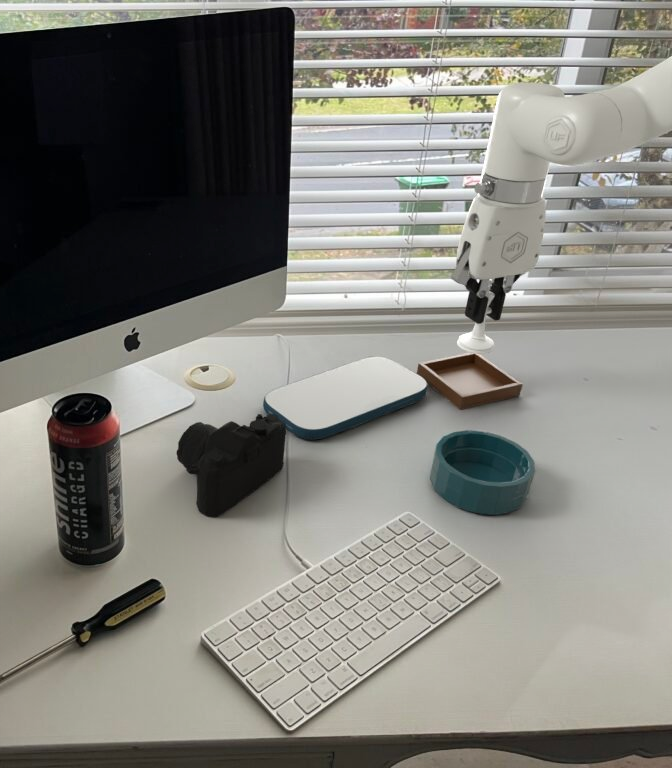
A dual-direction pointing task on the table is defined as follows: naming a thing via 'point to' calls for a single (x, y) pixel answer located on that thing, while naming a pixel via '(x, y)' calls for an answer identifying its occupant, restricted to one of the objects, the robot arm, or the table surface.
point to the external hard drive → (344, 397)
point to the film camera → (232, 460)
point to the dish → (482, 472)
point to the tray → (469, 380)
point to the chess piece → (478, 333)
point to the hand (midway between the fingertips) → (482, 317)
